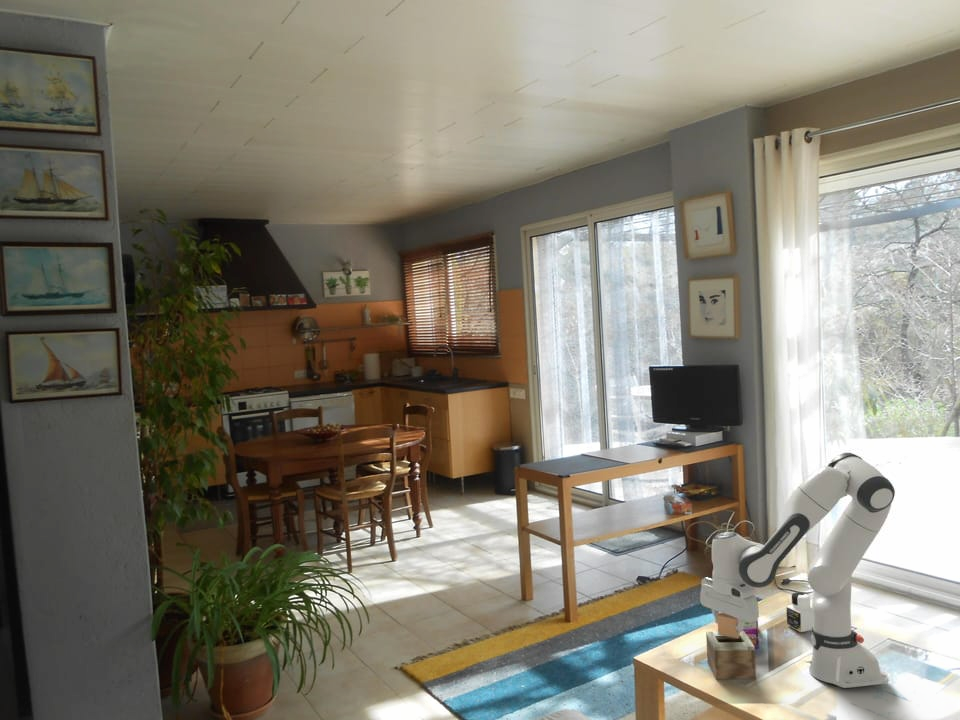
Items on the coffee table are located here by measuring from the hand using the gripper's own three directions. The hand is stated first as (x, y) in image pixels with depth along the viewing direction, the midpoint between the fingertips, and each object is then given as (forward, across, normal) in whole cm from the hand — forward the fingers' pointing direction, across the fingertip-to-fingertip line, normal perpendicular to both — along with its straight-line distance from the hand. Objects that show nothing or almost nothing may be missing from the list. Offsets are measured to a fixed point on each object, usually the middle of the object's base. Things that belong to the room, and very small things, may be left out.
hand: (729, 627), depth 234 cm
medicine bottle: (+14, -6, +46) cm, 48 cm away
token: (+2, 0, 0) cm, 2 cm away
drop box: (+14, 0, 0) cm, 14 cm away
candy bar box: (+14, -10, +18) cm, 25 cm away
